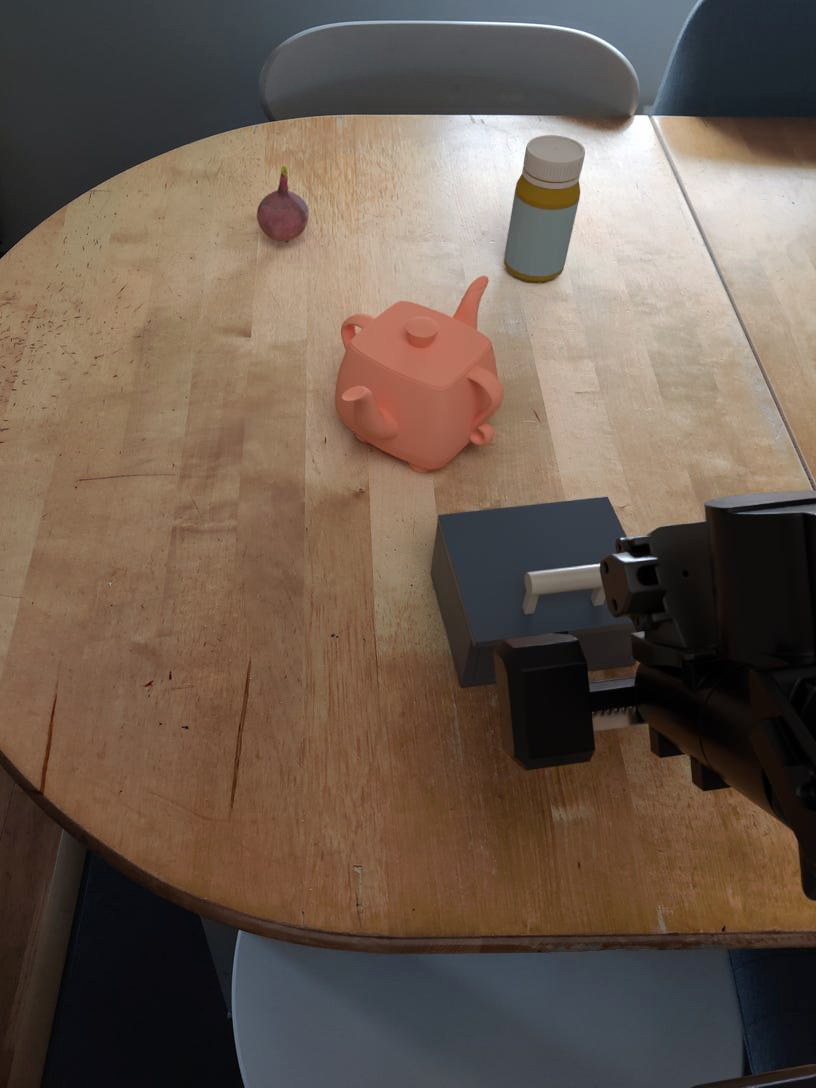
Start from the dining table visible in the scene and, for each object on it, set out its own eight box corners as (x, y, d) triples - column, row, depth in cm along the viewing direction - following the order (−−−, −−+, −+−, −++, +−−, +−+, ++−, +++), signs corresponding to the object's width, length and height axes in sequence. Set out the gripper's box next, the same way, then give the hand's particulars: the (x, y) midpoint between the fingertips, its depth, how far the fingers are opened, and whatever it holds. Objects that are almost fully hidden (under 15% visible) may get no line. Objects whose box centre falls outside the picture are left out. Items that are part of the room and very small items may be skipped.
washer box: (634, 665, 67) (658, 615, 63) (460, 688, 66) (471, 639, 61) (587, 555, 75) (605, 503, 70) (430, 573, 73) (437, 521, 69)
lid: (662, 624, 62) (682, 584, 59) (473, 648, 61) (482, 608, 57) (605, 502, 70) (619, 460, 66) (437, 521, 69) (442, 479, 65)
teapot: (341, 496, 79) (342, 392, 70) (329, 375, 91) (328, 272, 82) (506, 487, 80) (528, 383, 71) (473, 368, 92) (489, 265, 83)
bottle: (501, 282, 102) (521, 161, 92) (504, 248, 107) (523, 130, 96) (563, 288, 102) (590, 167, 91) (562, 254, 106) (588, 135, 96)
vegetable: (308, 257, 106) (306, 181, 99) (256, 257, 106) (251, 181, 99) (310, 230, 110) (308, 155, 103) (260, 229, 110) (255, 154, 103)
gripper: (944, 519, 39) (745, 496, 55) (535, 567, 37) (449, 529, 53) (966, 768, 39) (761, 674, 55) (560, 829, 37) (467, 714, 53)
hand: (612, 644), depth 54 cm, fingers open, 9 cm apart
